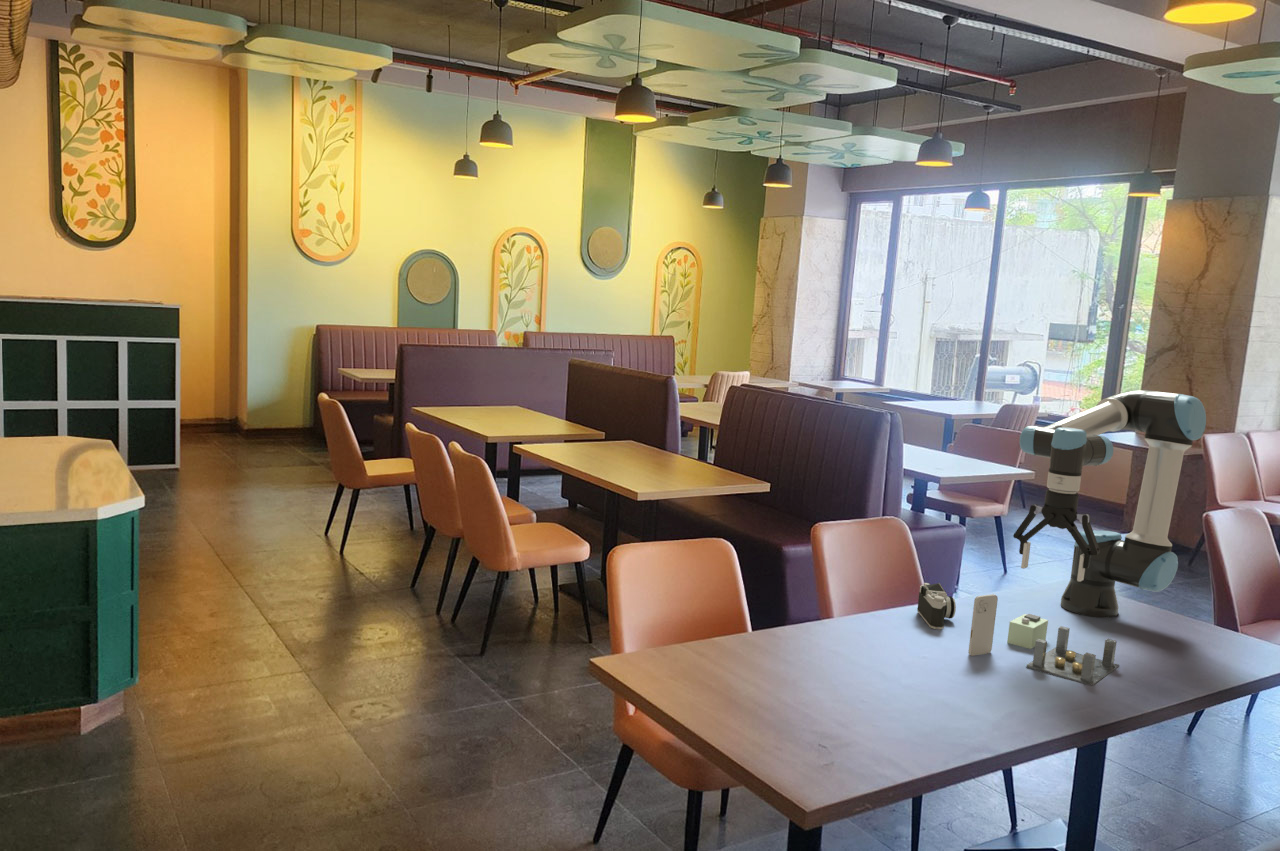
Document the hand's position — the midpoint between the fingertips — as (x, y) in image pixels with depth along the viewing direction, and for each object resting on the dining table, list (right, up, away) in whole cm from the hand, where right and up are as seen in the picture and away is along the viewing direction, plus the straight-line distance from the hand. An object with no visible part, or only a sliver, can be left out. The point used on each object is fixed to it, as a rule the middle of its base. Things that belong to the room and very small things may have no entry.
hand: (1051, 574), depth 245 cm
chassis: (+1, -21, -10) cm, 24 cm away
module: (-4, -19, +7) cm, 20 cm away
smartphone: (-19, -19, -4) cm, 28 cm away
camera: (-22, -16, +21) cm, 34 cm away
